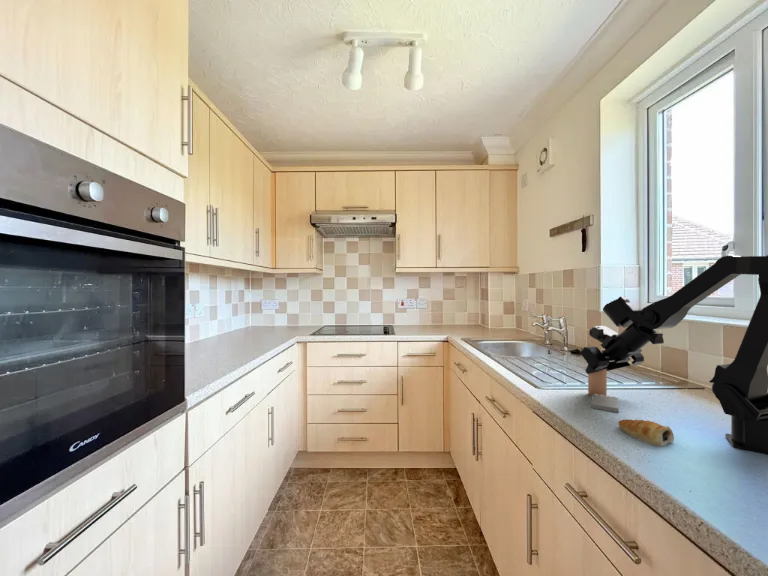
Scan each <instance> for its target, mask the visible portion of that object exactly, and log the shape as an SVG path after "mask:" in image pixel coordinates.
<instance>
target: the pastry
mask: <svg viewBox="0 0 768 576" xmlns="http://www.w3.org/2000/svg"><path fill="white" fill-rule="evenodd" d="M617 424H618V427H619V429H620V431H622V432H623V433H625V434H627V435H628V436H630V437H631V436H632V437H631V438H633V437H634V439H636V438H637V439H636V440H638V439H639V440H638V441H641V442H643V443H645V442H646V444H648V445H652V446H654V445H655V447H658V446H660V447H665V446H667V444H671V443H673V442H674V440H675V435H674V433H673V430H672V429H671V428H670V427H669V425H668V426H667V425H665V426H664V425H661V424H659V423H658V422H655V421H653V420H643V419H621V420H619V421H617Z"/></svg>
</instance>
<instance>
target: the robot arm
mask: <svg viewBox="0 0 768 576" xmlns="http://www.w3.org/2000/svg"><path fill="white" fill-rule="evenodd" d="M741 275H749V276H750V275H751V276H754V275H755V276H756V275H758V278H757V280H758V287H759V291H760V295H759V298H758V300H757V301H758V302H757V303H756V306H755V309H754V311H753V314H752V316H751V317H750V321H749V323H748V325H747V327H746V330H745V332H744V335H743V338H742V340H741V342H740V345H739V347H738V349H737V353H736V355H735V357H734V359H733V360H732V362H731V363H725V364H717V365H716V367H715V368H714V369H715V371H714V375H713V377H712V378H711V379H710V380H709V383H710V384H712V385H711V392H712V393H713V394H714V396H715V398H716V399H717V400H718V401H719V403H720V406H721V408H722V411H723V413H724V414H726V415H728V416H731V417H730V418H731V419H730V421H731V423H730V425H731V426H730V428H731V429H730V431H731V432H730V433H725V435H724V436H725V438H726V439H727V440H728V441H729V443H730V445H732V447H733V448H737V449H743V450H747V451H753V452H758V453H764V454H768V254H767V255H766V256H765V255H763V256H762V255H761V256H760V255H756V256H755V255H751V256H749V255H748V256H744V255H743V256H742V255H723V256H721V257H720V258H718V259H717V260H716V261H715V263H713V264H712V265H711V266H709V267H708V268H707V269H705V270H704V271H703V272H701V273H700V274H698V275H697V276H696V277H694V278H693V279H692V280H690V281H689V282H688V283H686V284H685V285H683V286H682V287H680V288H679V289H678V290H677V291H676V292H674V293H673V294H671V295H670V296H667V297H666V298H663V299H659V300H656V301H654V302H653V303H651V304H649V305H646V306H644V307H643V308H642V309H637V307H636V306H634V305H633V304H632V302H631V301H630V299H629V298H628V297H627V296H619V297H618V298H617V299H614V300H612V301H609V302H608V303H606V304H605V305H604V306H603V308H602V311H603V313H604V314H605V315H606V316H607V317H608V318H609V320H611V322H613V323H612V324H614V325H615V326H616V327H619V328H620V327H622V328H624V330H623V331H621V333H618V332H616V331H614V330H613V329H612V328H610V327H608V326H605V325H595V326H592V327H591V328H590V329H589V332H588V334H589V335H588V336H590V337H591V338H593V339H594V340H597V341H598V342H600V343H601V344H600V346H601V348H602V349H603V350H600V348H598V346H594V345H593V346H584V347H582V349H580V351H579V354H581V357H583V359H584V360H585V362H586V363H587V366H586V369H585V370H584V371H585V373H586V374H587V375H588V374H591V373H594V372H598V371H602V370H606V369H607V372H610V371H615V370H619V369H624V368H629V367H631V365H632V366H639V365H641V364H642V363H644V361H645V357H644V355H643V354H642V353H641V352H643V350H642V348H643V347H645V346H646V345H648V344H649V343H650V344H652V345H662V344H664V343H665V342H664V337H663V336H664V333H662V332H658V331H656V330H661V329H672V328H674V327H676V326H677V325H678V324H679V323H680V322H682V320H683V319H685V318H686V316H687V314H688V312H689V311H690V310H691V309H692V308H693V307H695V306H696V305H697V304H699V303H700V302H702V301H704V300H705V299H707V298H708V297H709V296H711V295H712V294H713V293H715V292H716V291H718V290H720V289H721V288H722V287H724V286H725V285H728V283H730V282H732V281H733V280H734V279H736V278H738V277H739V276H741ZM631 360H633V361H631ZM630 361H631V364H630V363H629V362H630ZM606 366H607V367H606Z"/></svg>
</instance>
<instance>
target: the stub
mask: <svg viewBox="0 0 768 576" xmlns="http://www.w3.org/2000/svg"><path fill="white" fill-rule="evenodd" d="M606 367H607V366H606ZM607 375H608V371H607V369H606V370H602V371H598V372H594V373H591V374H587V377H588V378H587V382H588V384H587V395H589V396H590V397H592V395H593V394H599V395H604V396H606V395H607V394H608V393H607V391H608V390H607V386H608V385H607V383H608V382H607V378H608V377H607ZM607 396H608V395H607Z"/></svg>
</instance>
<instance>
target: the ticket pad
mask: <svg viewBox="0 0 768 576" xmlns="http://www.w3.org/2000/svg"><path fill="white" fill-rule="evenodd" d="M591 397H592V398H591V402H590V408H591V409H597V410H602V411H606V412H607V411H609V412H615V413H619V398H618V397H616V396H611V395H606V396H604V395H599V394H593V395H592V396H591Z"/></svg>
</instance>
